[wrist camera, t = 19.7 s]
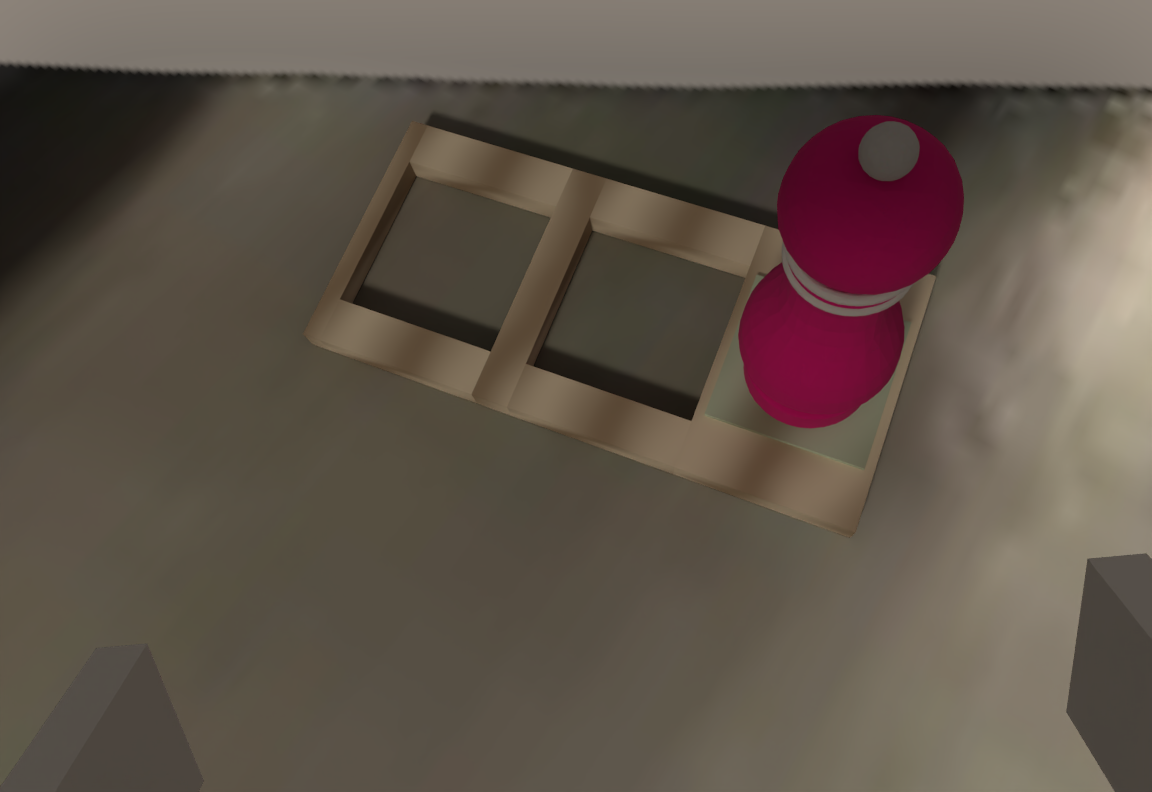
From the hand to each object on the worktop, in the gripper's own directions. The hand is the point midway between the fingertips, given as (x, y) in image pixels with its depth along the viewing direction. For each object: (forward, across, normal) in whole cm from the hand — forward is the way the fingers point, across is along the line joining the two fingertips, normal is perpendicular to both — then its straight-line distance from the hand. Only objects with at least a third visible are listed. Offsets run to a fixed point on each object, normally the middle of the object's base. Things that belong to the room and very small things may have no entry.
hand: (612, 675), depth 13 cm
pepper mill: (+32, +9, -11) cm, 36 cm away
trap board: (+37, 0, -9) cm, 38 cm away
